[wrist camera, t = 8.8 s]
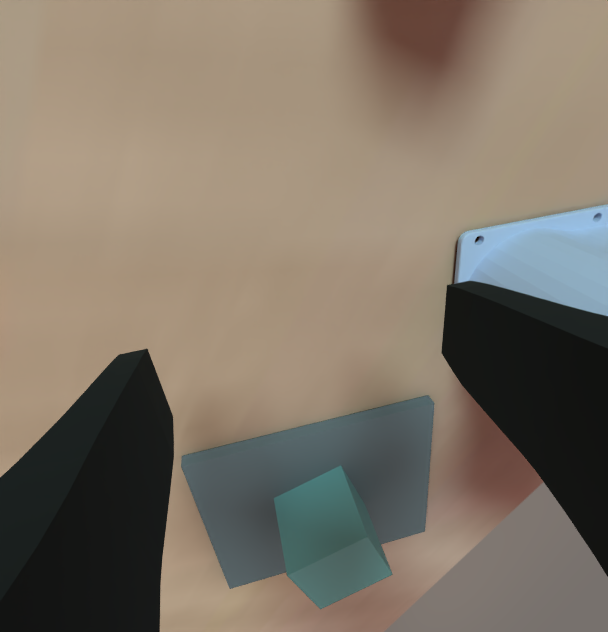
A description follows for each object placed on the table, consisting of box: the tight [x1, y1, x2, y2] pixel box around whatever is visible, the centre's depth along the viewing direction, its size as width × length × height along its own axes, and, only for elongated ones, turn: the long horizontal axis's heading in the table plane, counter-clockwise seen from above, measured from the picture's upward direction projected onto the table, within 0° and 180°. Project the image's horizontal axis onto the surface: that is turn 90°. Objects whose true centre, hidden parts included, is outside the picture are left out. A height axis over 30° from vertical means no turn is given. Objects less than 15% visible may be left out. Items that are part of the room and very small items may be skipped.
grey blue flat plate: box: [181, 395, 434, 589], centre depth 28 cm, size 16×14×1 cm
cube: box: [274, 466, 393, 609], centre depth 26 cm, size 5×5×5 cm
